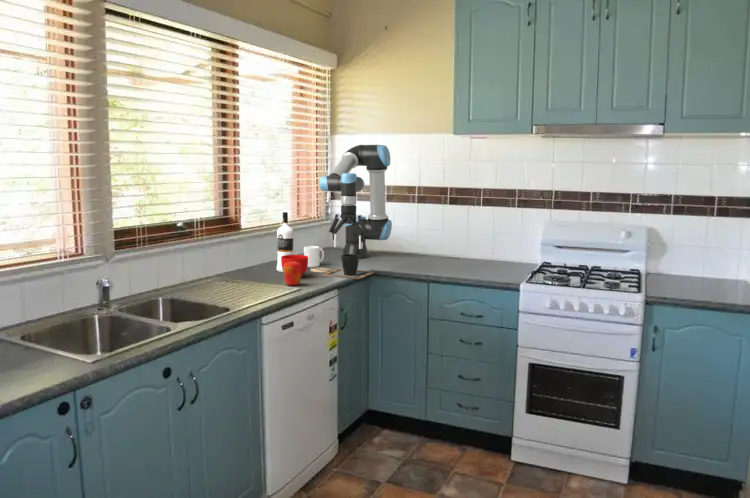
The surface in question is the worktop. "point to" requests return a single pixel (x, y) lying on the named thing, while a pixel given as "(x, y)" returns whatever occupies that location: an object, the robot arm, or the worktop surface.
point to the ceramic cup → (297, 258)
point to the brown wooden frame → (348, 276)
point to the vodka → (284, 241)
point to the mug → (350, 263)
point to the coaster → (320, 270)
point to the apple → (292, 272)
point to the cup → (313, 255)
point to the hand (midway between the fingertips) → (348, 247)
